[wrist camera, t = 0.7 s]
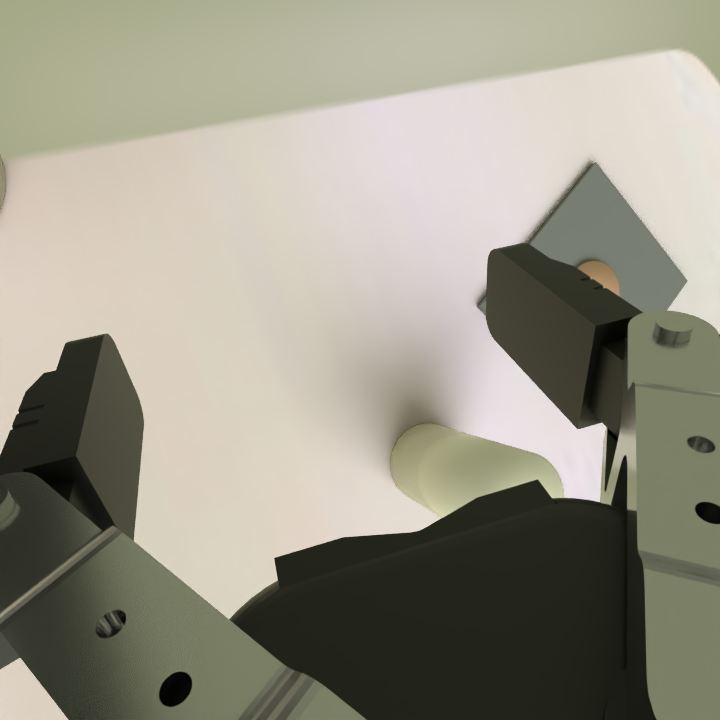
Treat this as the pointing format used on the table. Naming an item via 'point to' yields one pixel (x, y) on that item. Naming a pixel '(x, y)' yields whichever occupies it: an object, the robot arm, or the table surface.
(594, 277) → the coaster
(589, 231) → the grey mat
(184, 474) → the table surface
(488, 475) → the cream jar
